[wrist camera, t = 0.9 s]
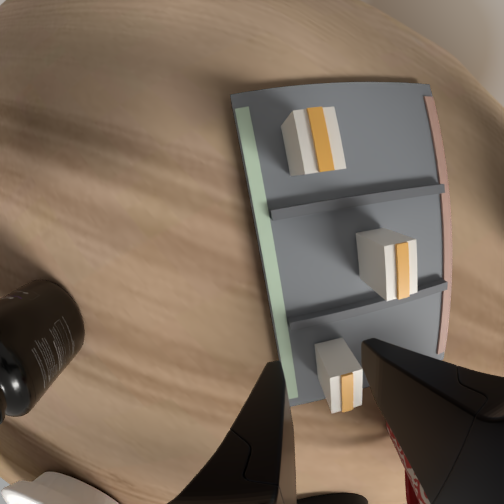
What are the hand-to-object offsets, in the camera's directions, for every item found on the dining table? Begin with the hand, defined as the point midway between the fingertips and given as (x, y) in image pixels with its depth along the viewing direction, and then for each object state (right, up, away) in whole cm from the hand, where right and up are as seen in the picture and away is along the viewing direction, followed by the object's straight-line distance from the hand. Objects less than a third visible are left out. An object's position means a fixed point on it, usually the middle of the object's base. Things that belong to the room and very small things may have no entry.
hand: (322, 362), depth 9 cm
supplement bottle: (-18, -2, +11) cm, 21 cm away
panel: (+5, +4, +11) cm, 13 cm away
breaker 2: (+3, -4, +11) cm, 12 cm away
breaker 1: (+1, +9, +8) cm, 12 cm away
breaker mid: (+5, +3, +10) cm, 11 cm away
